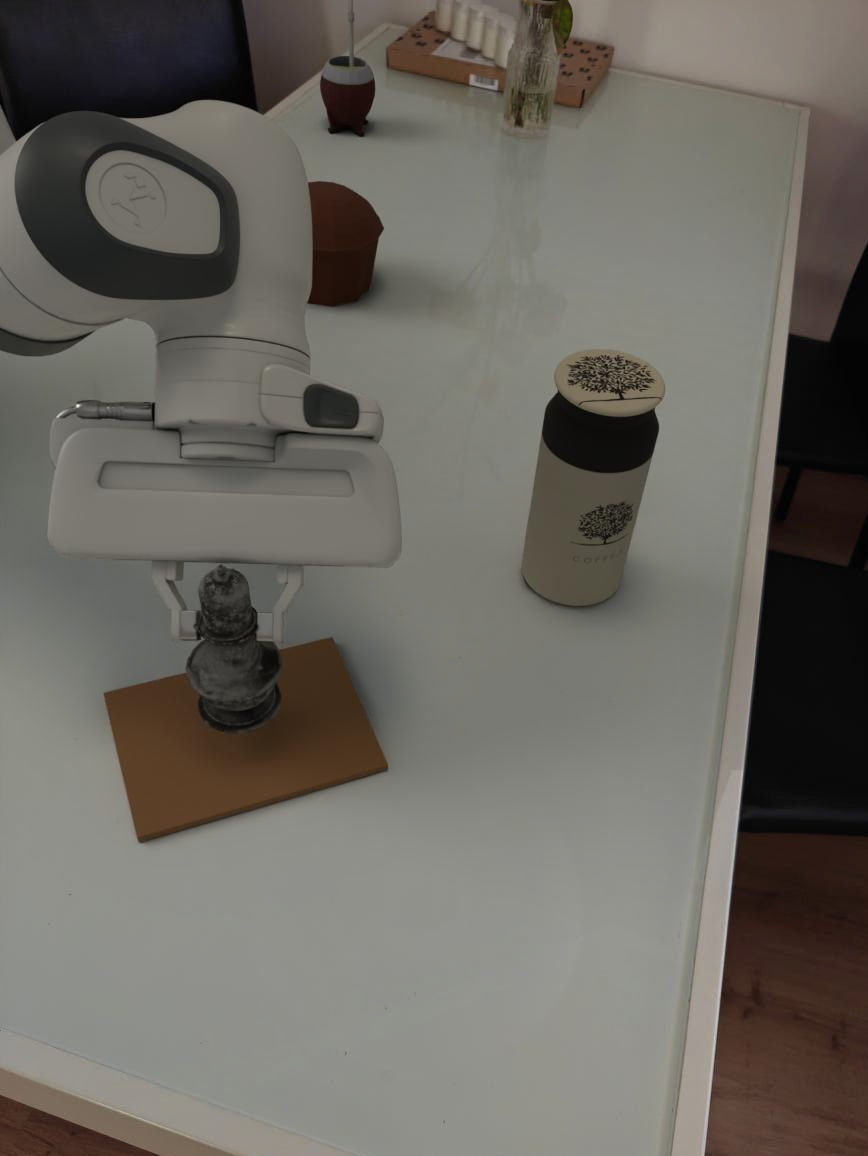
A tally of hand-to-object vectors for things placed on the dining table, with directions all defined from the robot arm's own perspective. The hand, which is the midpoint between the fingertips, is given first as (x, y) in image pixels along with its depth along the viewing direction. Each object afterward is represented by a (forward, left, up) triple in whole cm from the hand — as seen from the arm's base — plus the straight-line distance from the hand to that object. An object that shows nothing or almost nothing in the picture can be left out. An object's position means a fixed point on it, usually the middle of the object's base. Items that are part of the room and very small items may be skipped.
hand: (229, 641), depth 61 cm
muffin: (+23, +56, -10) cm, 61 cm away
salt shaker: (0, +1, -7) cm, 7 cm away
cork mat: (0, +1, -10) cm, 10 cm away
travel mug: (+28, +8, -10) cm, 31 cm away
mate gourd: (+38, +95, -10) cm, 102 cm away
